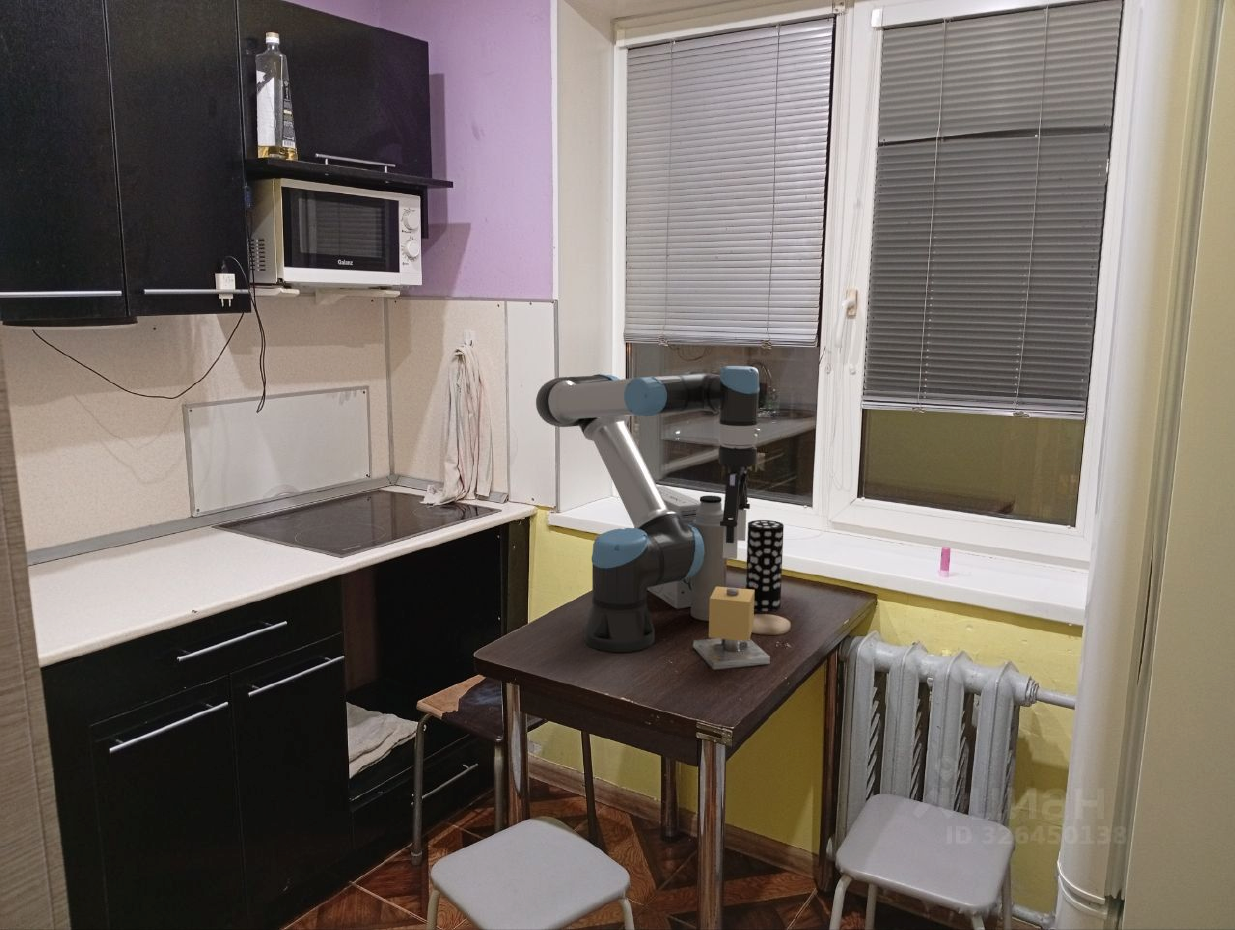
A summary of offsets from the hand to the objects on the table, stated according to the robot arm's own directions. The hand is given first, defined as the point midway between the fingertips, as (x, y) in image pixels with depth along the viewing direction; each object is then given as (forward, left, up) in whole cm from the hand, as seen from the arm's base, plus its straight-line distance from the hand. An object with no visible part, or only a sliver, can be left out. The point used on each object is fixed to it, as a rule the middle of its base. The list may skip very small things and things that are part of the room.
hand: (734, 548), depth 185 cm
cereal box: (0, +40, -23) cm, 46 cm away
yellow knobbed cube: (0, 0, -18) cm, 18 cm away
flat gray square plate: (0, 0, -23) cm, 23 cm away
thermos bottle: (+4, +24, -23) cm, 33 cm away
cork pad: (+14, +14, -23) cm, 30 cm away
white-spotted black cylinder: (+19, +27, -23) cm, 40 cm away
